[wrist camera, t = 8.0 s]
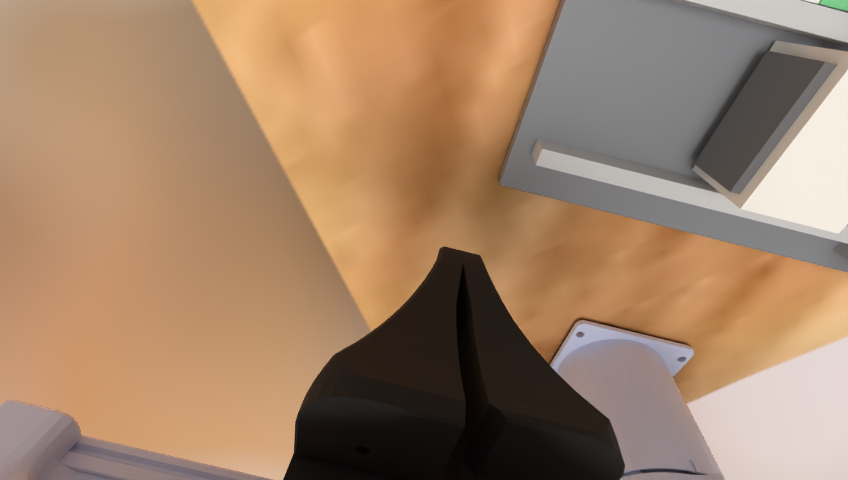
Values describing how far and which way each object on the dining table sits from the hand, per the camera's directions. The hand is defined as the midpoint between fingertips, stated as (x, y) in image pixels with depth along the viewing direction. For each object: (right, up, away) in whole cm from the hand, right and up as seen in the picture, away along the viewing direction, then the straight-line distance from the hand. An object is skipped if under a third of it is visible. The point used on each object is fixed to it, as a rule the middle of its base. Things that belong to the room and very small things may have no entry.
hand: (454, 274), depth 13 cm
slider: (+14, +8, +3) cm, 17 cm away
